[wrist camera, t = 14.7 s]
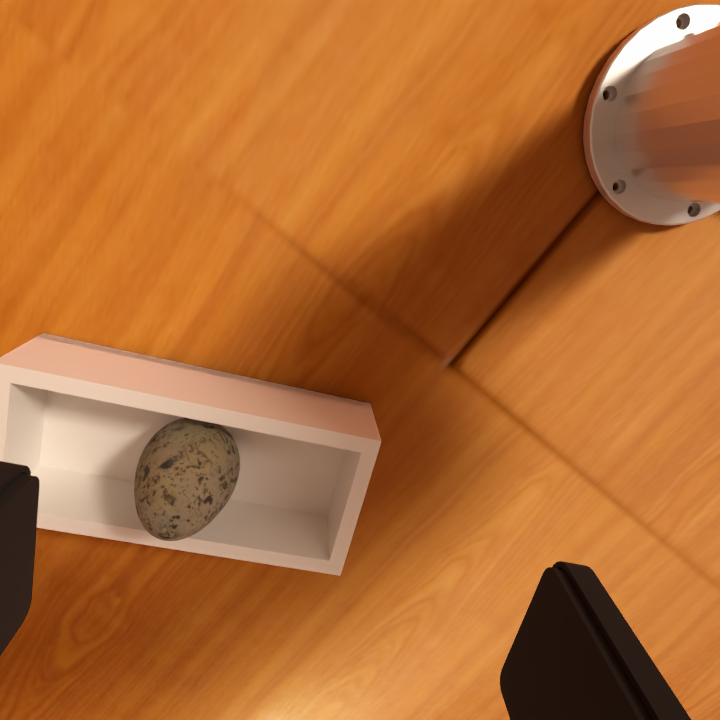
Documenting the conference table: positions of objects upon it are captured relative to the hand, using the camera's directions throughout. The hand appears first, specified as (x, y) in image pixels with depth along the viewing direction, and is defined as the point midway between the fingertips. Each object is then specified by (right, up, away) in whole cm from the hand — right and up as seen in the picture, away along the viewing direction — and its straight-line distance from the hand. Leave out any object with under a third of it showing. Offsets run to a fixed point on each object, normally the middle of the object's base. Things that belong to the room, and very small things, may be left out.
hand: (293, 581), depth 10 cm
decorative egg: (-10, -1, +27) cm, 29 cm away
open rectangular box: (-10, -1, +28) cm, 30 cm away
